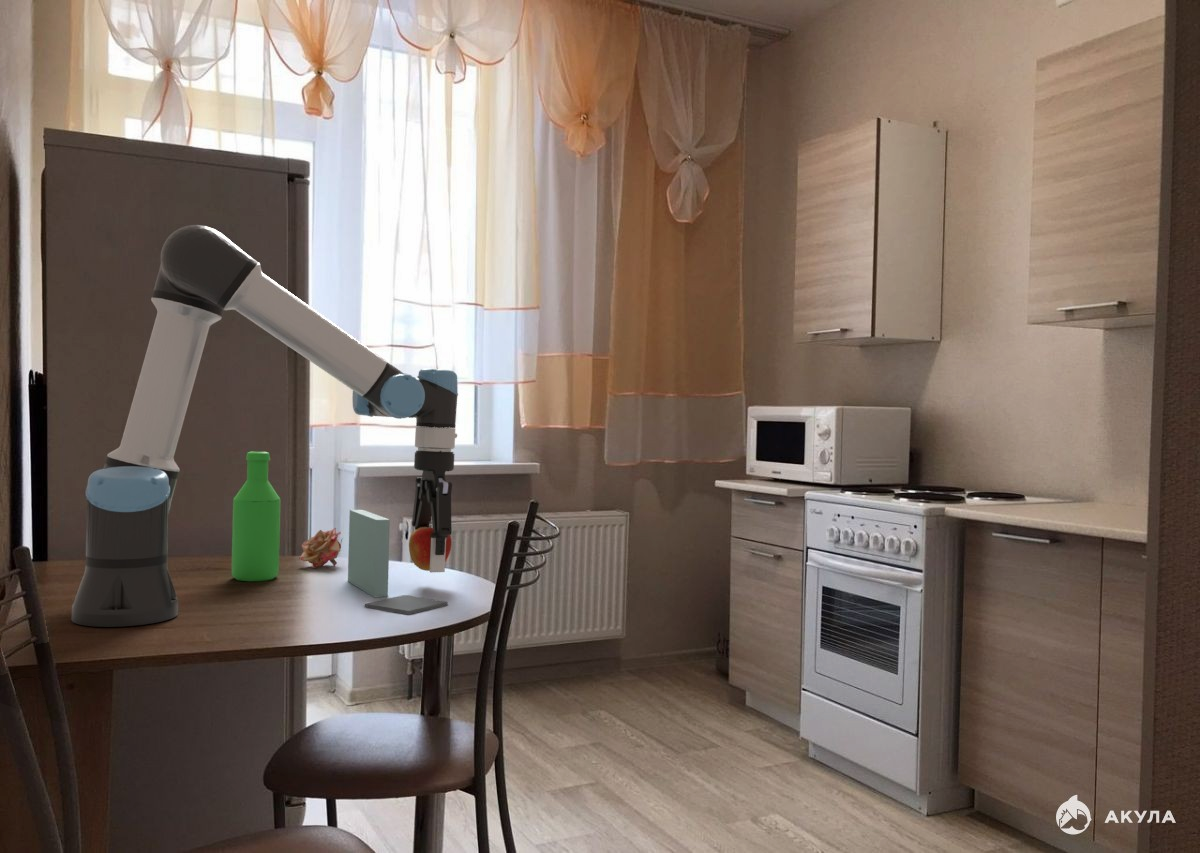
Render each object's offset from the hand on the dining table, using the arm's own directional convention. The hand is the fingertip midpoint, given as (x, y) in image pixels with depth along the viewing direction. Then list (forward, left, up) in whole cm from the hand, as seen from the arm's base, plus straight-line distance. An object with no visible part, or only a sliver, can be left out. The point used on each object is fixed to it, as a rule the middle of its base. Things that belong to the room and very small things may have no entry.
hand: (429, 568), depth 186 cm
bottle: (-14, +33, -4) cm, 36 cm away
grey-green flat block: (-8, +9, -4) cm, 12 cm away
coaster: (-16, -8, -4) cm, 18 cm away
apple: (0, 0, -1) cm, 1 cm away
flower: (+4, +34, -4) cm, 34 cm away
